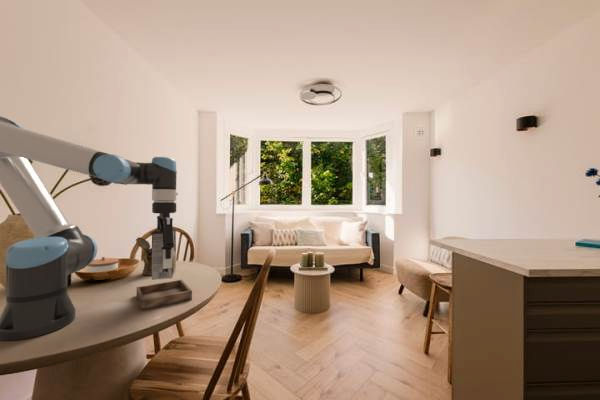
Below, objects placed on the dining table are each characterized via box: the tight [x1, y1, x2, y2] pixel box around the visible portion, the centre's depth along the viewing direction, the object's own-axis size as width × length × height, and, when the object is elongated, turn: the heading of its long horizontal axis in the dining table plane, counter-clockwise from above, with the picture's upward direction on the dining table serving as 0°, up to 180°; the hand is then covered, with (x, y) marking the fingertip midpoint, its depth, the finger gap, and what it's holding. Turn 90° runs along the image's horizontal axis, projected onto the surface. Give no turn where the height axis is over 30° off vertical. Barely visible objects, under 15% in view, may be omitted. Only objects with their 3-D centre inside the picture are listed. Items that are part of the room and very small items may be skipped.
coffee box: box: [151, 228, 177, 281], centre depth 90 cm, size 9×6×16 cm
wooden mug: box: [135, 237, 152, 277], centre depth 117 cm, size 9×14×18 cm, turn 169°
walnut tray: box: [136, 279, 193, 311], centre depth 90 cm, size 15×15×3 cm
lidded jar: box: [86, 256, 119, 273], centre depth 110 cm, size 11×11×9 cm
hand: (164, 264), depth 90 cm, fingers closed on coffee box, 10 cm apart
